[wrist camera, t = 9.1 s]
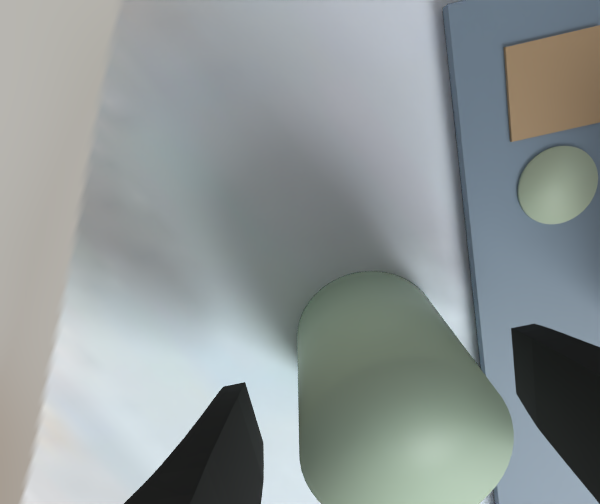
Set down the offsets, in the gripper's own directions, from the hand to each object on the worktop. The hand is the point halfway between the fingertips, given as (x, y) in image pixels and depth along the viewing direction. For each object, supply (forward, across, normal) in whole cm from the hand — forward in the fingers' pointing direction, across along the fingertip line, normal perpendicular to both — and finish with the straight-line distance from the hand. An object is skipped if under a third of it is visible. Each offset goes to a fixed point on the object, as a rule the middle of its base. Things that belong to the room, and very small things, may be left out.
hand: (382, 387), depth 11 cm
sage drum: (+3, 0, 0) cm, 3 cm away
